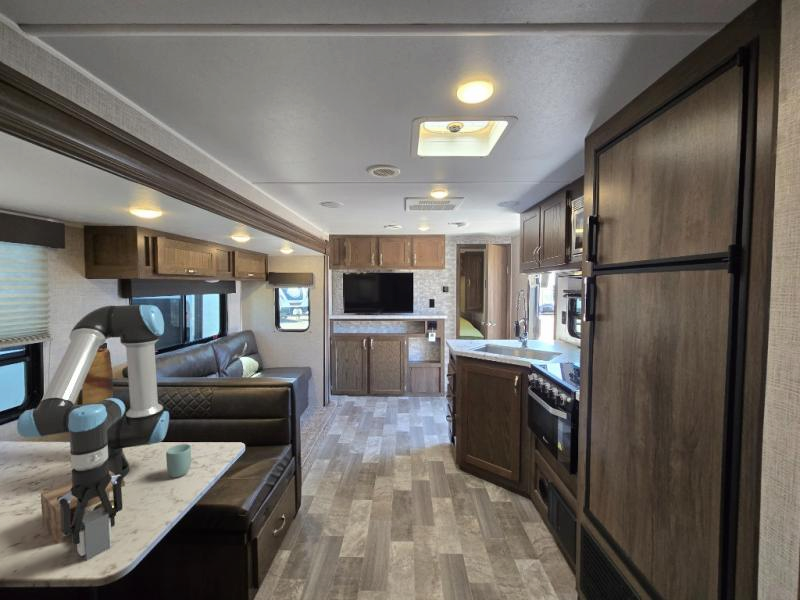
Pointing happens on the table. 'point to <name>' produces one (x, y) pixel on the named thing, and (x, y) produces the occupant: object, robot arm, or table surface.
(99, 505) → the gold metal dome
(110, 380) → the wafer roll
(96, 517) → the grey toy mallet
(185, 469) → the cup
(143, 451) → the table surface
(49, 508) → the brown piece
